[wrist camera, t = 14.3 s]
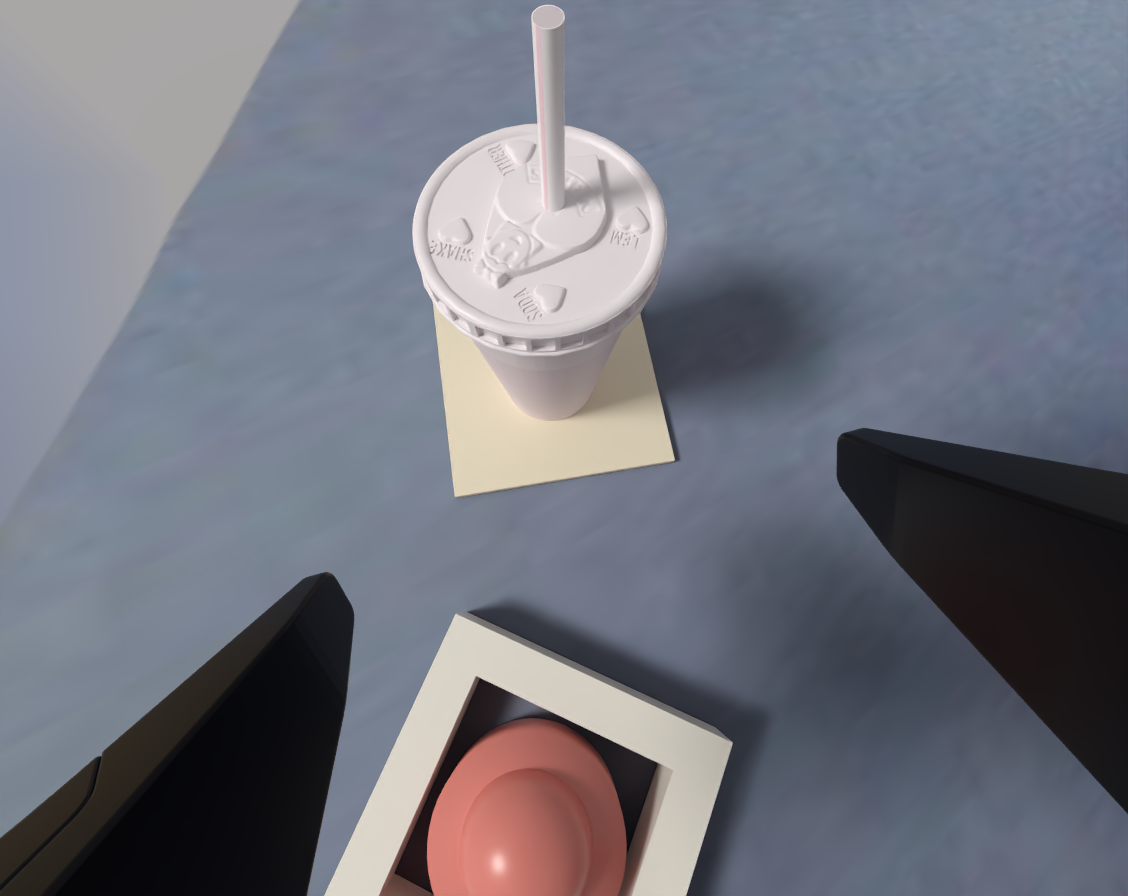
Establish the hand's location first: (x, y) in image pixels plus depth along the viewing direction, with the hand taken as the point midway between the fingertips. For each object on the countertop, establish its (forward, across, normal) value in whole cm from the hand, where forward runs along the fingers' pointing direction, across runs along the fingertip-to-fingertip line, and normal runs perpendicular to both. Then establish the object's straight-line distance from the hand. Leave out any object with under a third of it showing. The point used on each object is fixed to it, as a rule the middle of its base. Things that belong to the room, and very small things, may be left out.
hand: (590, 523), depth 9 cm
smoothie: (+14, 0, +2) cm, 14 cm away
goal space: (+14, 0, +2) cm, 14 cm away
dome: (+3, +4, +13) cm, 14 cm away
